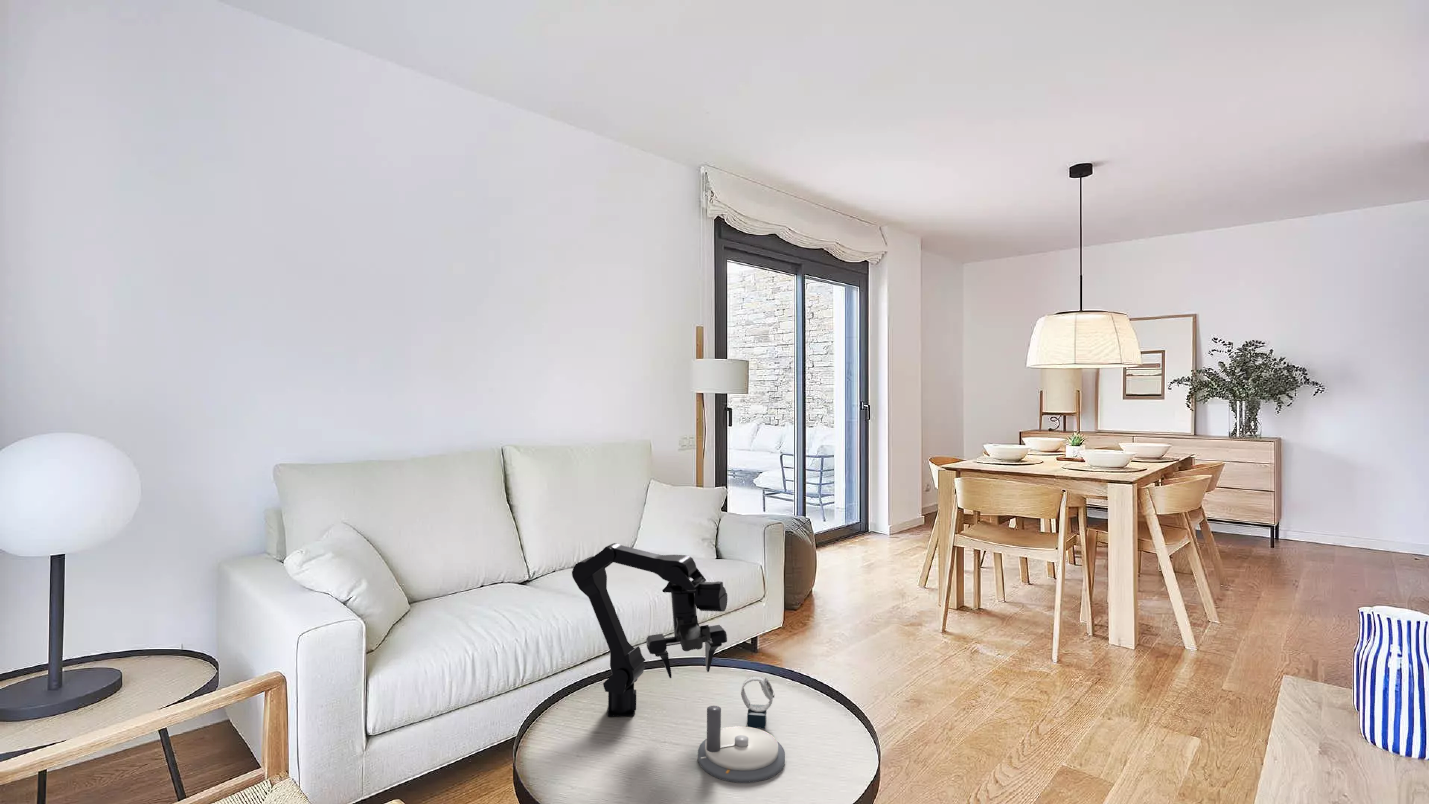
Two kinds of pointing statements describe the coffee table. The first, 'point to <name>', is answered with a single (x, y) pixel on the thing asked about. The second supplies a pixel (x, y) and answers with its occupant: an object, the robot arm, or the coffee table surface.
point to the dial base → (741, 775)
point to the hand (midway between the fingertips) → (689, 674)
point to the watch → (757, 712)
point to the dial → (738, 745)
